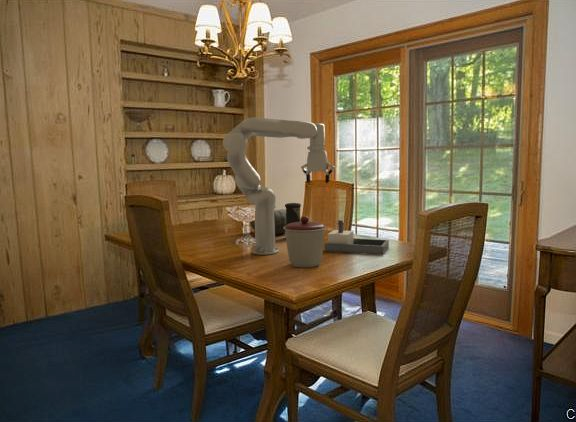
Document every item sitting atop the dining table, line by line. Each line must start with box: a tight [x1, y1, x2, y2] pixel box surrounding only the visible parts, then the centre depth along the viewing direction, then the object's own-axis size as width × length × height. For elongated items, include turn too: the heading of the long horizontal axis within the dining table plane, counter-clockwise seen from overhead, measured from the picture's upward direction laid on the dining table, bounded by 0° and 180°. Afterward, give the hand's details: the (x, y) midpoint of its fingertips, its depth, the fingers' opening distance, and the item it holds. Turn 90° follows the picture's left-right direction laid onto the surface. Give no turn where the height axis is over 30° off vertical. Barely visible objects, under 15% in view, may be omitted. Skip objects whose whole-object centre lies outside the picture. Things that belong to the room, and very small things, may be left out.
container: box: [284, 202, 302, 225], centre depth 250 cm, size 9×9×20 cm
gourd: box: [249, 208, 286, 236], centre depth 266 cm, size 25×25×17 cm
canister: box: [283, 215, 327, 269], centre depth 189 cm, size 18×18×21 cm
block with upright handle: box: [327, 219, 354, 244], centre depth 220 cm, size 11×10×13 cm
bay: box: [324, 237, 390, 256], centre depth 218 cm, size 16×28×4 cm, turn 68°
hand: (317, 182), depth 225 cm, fingers open, 9 cm apart
